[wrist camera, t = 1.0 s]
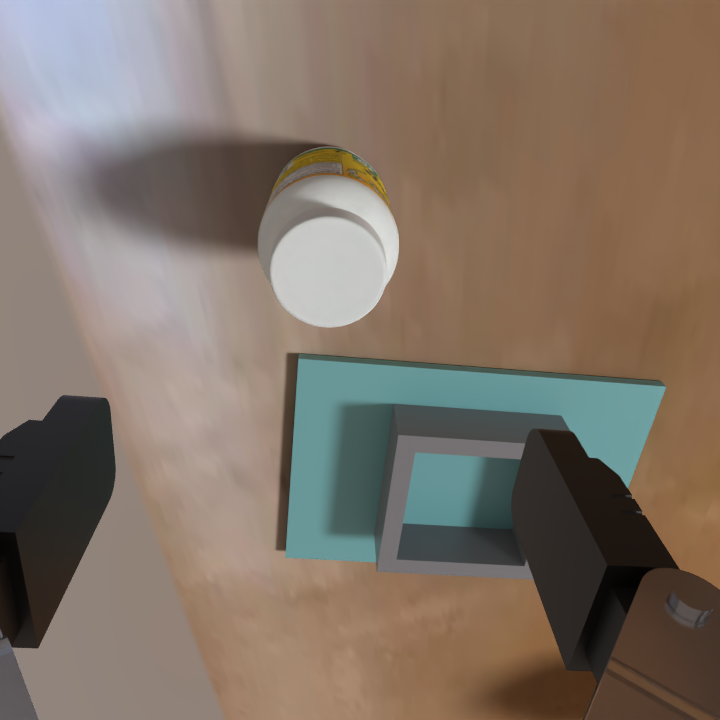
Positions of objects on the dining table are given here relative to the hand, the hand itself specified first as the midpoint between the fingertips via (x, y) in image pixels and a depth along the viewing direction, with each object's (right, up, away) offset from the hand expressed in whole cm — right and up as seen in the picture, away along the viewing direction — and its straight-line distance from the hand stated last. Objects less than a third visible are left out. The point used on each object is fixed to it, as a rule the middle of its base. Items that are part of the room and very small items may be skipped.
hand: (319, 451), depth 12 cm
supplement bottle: (-1, +9, +18) cm, 20 cm away
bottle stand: (+7, -5, +25) cm, 26 cm away
